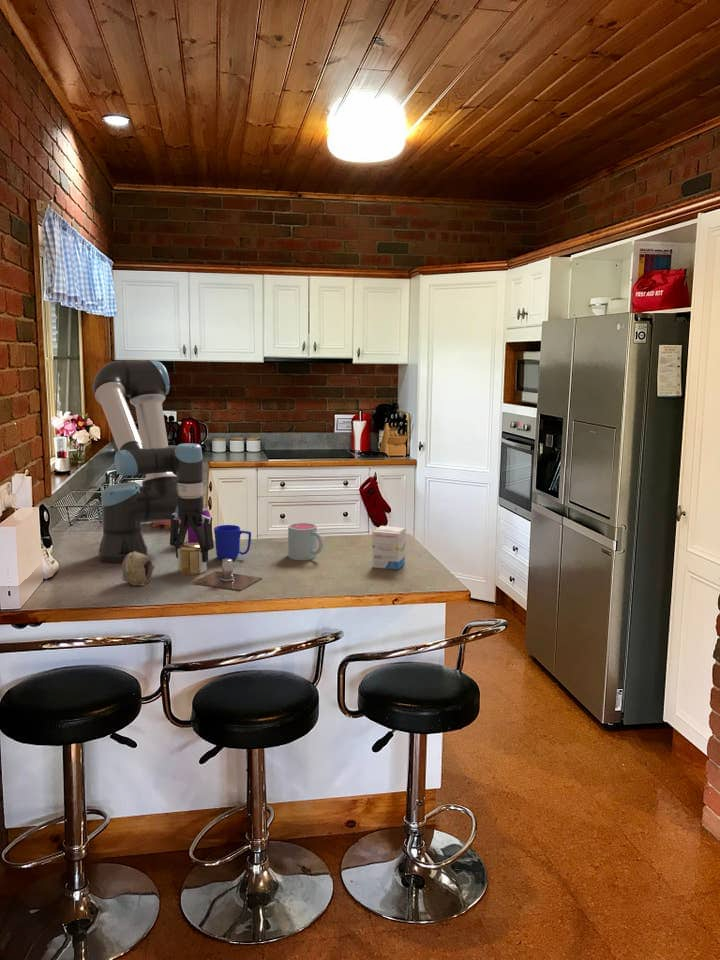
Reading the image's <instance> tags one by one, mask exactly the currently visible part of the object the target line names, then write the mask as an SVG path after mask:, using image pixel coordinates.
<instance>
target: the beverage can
mask: <svg viewBox="0 0 720 960" xmlns="http://www.w3.org/2000/svg"><path fill="white" fill-rule="evenodd" d="M203 514H204V516H207V517H211V514H210V511H209V509H208V507H207V506H203ZM201 522H202V525H204V523H203V520H202V521H201ZM197 527H198V526H197ZM202 529H203V532H204V527H203V528H202ZM187 542H188V543H198V540H197V537H196V534H195V531H194V530H193V528H192V527H190V526H189V527H188V529H187Z"/></svg>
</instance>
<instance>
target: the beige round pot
mask: <svg viewBox="0 0 720 960" xmlns="http://www.w3.org/2000/svg"><path fill="white" fill-rule="evenodd" d="M154 569H155V565H154V564H153V562H152V560H151V558H150V557H149V556H148V555H147V556H146V555H144V554H141V553H138V552H135V551H134V552H133V553H129V554H128V555H127V556H126V557H125V558H124V560H123V563H121V572H122V576H121V580H122V581H123V582H126V583H128V584H130V585H131V586H146V585H147V584H148V583H149V582H150V580H151V579H152V576H153V571H154Z"/></svg>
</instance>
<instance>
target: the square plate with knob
mask: <svg viewBox="0 0 720 960" xmlns="http://www.w3.org/2000/svg"><path fill="white" fill-rule="evenodd" d="M233 565H234V564H233V559H223V560H221V571H217V570H214V571H213V572H210V573H208V574H207V575H204V576H202V577H200V578H198V579H196V580H194V581H192V583H195V584H194V585H199V584H202V585H201V586H205V585H208V587H212V586H213V588H220V589H225V590H232V591H233V590H234V591H238V592H241V591H243V590H245V589H247V588H248V587H250V586H252V585H253V584H255V583H257V582H259V581H262V580H263V577H260V576H253V575H245V574H240V573H239V574H238V573H233V570H234V567H233Z"/></svg>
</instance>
